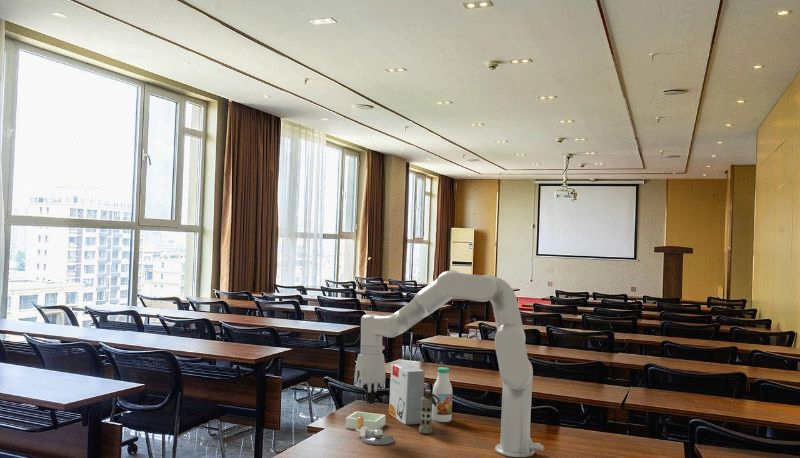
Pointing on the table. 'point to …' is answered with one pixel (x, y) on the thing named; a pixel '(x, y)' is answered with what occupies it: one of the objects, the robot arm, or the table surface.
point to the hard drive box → (406, 393)
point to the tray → (366, 420)
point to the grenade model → (427, 412)
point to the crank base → (373, 440)
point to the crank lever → (376, 433)
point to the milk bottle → (442, 397)
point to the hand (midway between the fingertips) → (370, 402)
